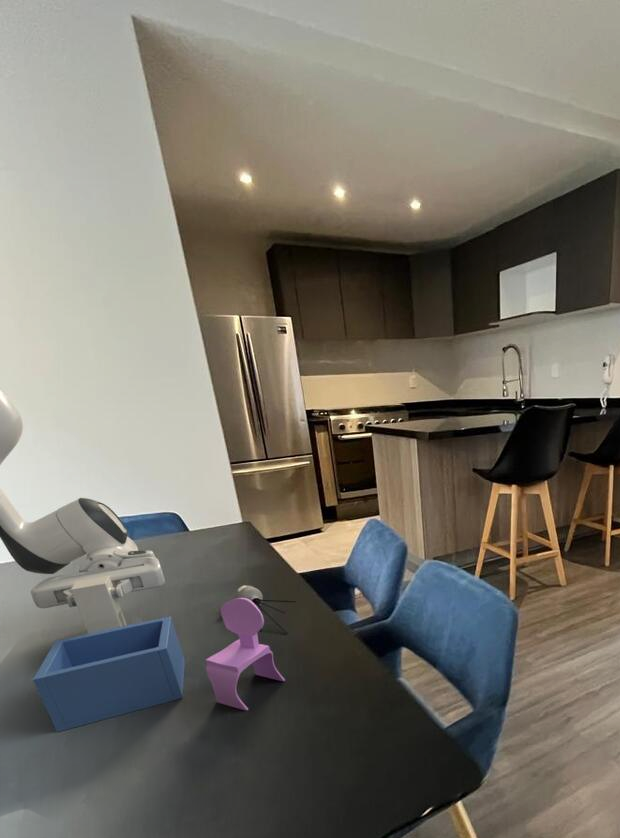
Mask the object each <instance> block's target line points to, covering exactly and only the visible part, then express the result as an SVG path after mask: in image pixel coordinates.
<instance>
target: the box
mask: <svg viewBox="0 0 620 838" xmlns="http://www.w3.org/2000/svg"><path fill="white" fill-rule="evenodd" d="M185 666H186V659H185V657H184V654H183V650H182V647H181V644H180V641H179V637H178V635H177V632H176V628H175V624H174V622H173V619H172V616H170V615H169V616H165V617H159V618H156V619H151V620H146V621H142V622H136V623H132V624H127V626H122V627H118V628H113V629H109V630H104V631H99V632H95V633H90V634H88V633H85V634H81V635H76V636H71V637H68V638H63V639H58V640H55V641H54V642H53V644H52V646H51V648H50V649H49V651H48V653H47V655H46V656H45V658H44V660H43V662H42V663H41V664H40V667H39V669H38V670H37V672H36V674H35V675H34V677H33V679H32V681H33V683H34V686H35V688H36V690H37V692H38V694H39V696H40V699H41V701H42V703H43V705H44V708H45V710H46V711H47V714H48V716H49V718H50V720H51V722H52V724H53V727H54V729H55V731H56V733H59V732H63V731H66V730H71V729H75V728H78V727H81V726H85V725H89V724H93V723H96V722H100V721H103V720H107V719H110V718H111V719H112V718H114V717H118V716H122V715H126V714H130V713H133V712H136V711H140V710H144V709H147V708H151V707H154V706H158V705H162V704H166V703H169V702H173V701H176V700H180V699H183V698H184V682H185V668H186V667H185Z"/></svg>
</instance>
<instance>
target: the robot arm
mask: <svg viewBox="0 0 620 838" xmlns="http://www.w3.org/2000/svg"><path fill="white" fill-rule="evenodd" d="M23 428H24V424H23V418H22V416H21V413H20V411H18V409H17V407H16V406H15V405H14V403H13V402H12V401H11V400H10V399H9V397H8V396H7V395H6V394H5V393H4V392H3V390H1V388H0V466H1V465H2V463H3V462H4V461H5V460H6V458H7V457H8V456H9V455H10V454H11V452H13V450H15V448H16V446H17V445H18V443H19V442H20V439H21V437H22V435H23V434H22V433H23ZM0 540H1V541H2V543H3V545H4V546H5V548H6V549H7V552H8V553H9V555H10V556H11V557H12V559H13V560H14V561H15V563H16V564H17V565H18V566H19V567H20V568H21V569H23V570H25V571H27V572H30V573H34V574H40V575H42V574H43V575H54V576H51V577H48V578H46V579H43V580H42V581H41V582H38V583H37V585H35V586H33V588H31V590H30V594H31V598H32V600H33V602H34V604H35V606H36V607H37V608H39V609H48V608H53V607H54V608H55V607H58V606H64V605H68V607H69V608H74V607H77V605H76V602H75V600H74V597H73V595H72V592H71V588H72V587H73V585H74V584H75V582H76V581H82V580H87V579H93V578H99V577H104V576H110V579H111V582H112V585H113V587H111V590H110V592H111V595H112V598H113V599H116V598H117V599H121V598H123V597H124V595H127V594H128V593H133V592H139V591H144V590H149V589H155V588H159V587H162V586H164V585H165V584H166V580H165V575H164V572H163V569H162V566H161V562H160V560H159V559H158V558H157V557H156V555H155V554H154V552H153V550H139V548H138V546H137V543H135V541H133V539H131V538H130V537H129V536H128V529H127V528H126V526H125V524H124V523H123V521H122V520H121V518H120V517H119V516H118V515H117V514H116V513H115V511H114V510H112V509H111V508H110V506H108V505H106V504H105V503H103V502H101V501H97V500H95V499H91V498H86V497H78V498H77V499H75V500H74V501H70V502H69V503H67V504H65V505H63V506H61V507H59V508H57V509H56V510H54V511H52V512H51V513H48V514H47V515H44V516H42V517H40V518H38V519H37V520H34V521H32V522H31V521H30V522H28V521H26V520H24V518H22V516H21V515H20V514H19V511H17V509H16V508H15V507H14V505H13V504H12V502H11V501H10V500H9V498H8V497H7V495H6V494H5V493H4V492H3V490H2V489H1V488H0ZM85 555H86V558H85V559H84V560H83V562H82V563H81V565H80V567H79V570H78V572H73V573H72V572H71V573H67V574H66V573H65V574H61V575H60V574H59V575H56V576H55V574H56V573H58V572H59V571H61V570H62V569H64V568H65V567H67V566H68V565H70V564H71V563H72V562H74V561H75V560H78V559H80V558H82V557H83V556H85Z"/></svg>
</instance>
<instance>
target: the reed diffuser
mask: <svg viewBox="0 0 620 838" xmlns="http://www.w3.org/2000/svg"><path fill="white" fill-rule="evenodd" d="M263 596H264V595H263V594H262V592H261V591H260V590H259V589H258V588H256V587H254V586H252V585H245V584H244V585H242V586H240V587H239V588H238V589H236V593H235V599H237V598H247V599H249V600H251V601H252V602H253V603H254V604H255V605H256V606H257V607H258V609H259V610H260V611H262V612H264V614H265V615H266V616H267V617H268V618H270V620H272V621H273V622H274V624H276V625H277V626H278V627H279V628H280V629H281V630H282V631H283V632H284V633H285V634H288V632H287V630H286V629H285V628H284V627H282V625H281V624H279V623H278V622H277V621H276V620H275V619H274V618H273V617H272V615H270V614H268V612H267V611H266V610H265V609H264V608H263V607H262V606H261V605H264V606H266V607H269V608H270V609H273V610H275V611H278V612H280V613H283V614H286V611H285V610H284V611H283V610H281V609H279V608H276V607H274V606H272V605H269V604H267V603H265V602H277V603H279V602H280V603H296V600H280V599H264V598H263ZM224 604H225V603H223V604H222V605H221V607H222V606H223V605H224ZM259 632H263V631H262V628H261V629H260V630H259Z"/></svg>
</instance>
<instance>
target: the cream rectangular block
mask: <svg viewBox="0 0 620 838" xmlns="http://www.w3.org/2000/svg"><path fill="white" fill-rule="evenodd" d="M111 587H113V585H112V582H111V579H110V576H104V577H99V578H93V579H87V580H82V581H76V582H75V584H74V585H73V587H72V588H71V592H72V595H73V597H74V600H75V602H76V605H77V606H76V607H77V610H78V613H79V615H80V618H81V620H82V622H83V625H84V628H85V630H86V634H90V633H95V632H99V631H104V630H109V629H113V628H118V627H122V626H127V625H128V624H127V622H126V619H125V616H124V613H123V611H122V607H121V604H120V602H119V598H116V599H113V598H112V595H111V592H110V590H111Z"/></svg>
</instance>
